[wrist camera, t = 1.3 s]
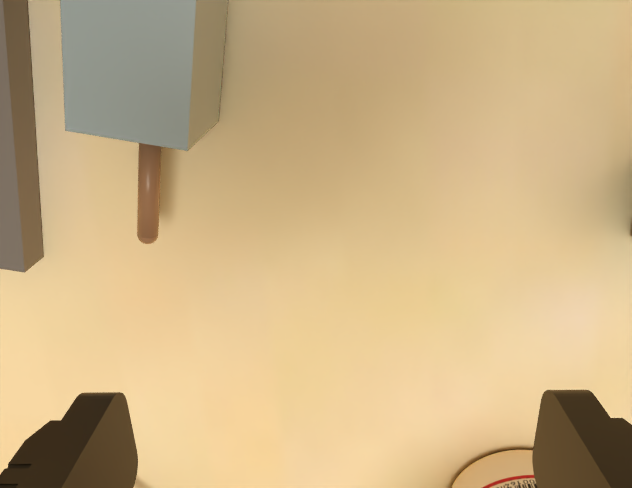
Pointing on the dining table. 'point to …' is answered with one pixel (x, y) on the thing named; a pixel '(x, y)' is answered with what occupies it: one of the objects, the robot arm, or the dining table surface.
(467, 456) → the dining table surface
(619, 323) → the dining table surface
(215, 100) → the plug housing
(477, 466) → the fruit juice
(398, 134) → the dining table surface
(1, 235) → the board
